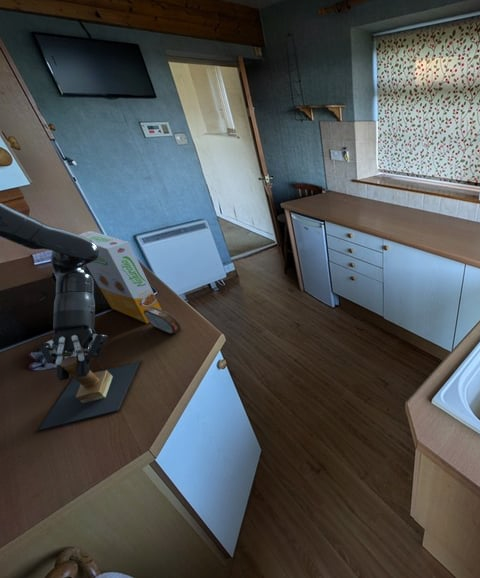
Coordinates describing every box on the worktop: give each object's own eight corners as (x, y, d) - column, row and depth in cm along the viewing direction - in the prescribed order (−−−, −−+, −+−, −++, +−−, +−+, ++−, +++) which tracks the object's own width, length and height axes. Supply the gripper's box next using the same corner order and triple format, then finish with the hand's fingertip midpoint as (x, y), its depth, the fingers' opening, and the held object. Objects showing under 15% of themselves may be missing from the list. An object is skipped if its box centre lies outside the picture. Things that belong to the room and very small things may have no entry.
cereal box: (163, 314, 113) (128, 241, 97) (146, 323, 108) (107, 248, 92) (128, 300, 120) (91, 230, 105) (111, 308, 116) (69, 236, 100)
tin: (184, 332, 104) (175, 313, 99) (175, 338, 101) (166, 319, 97) (157, 321, 109) (148, 302, 104) (148, 326, 106) (138, 307, 102)
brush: (82, 403, 78) (49, 375, 70) (91, 381, 83) (61, 352, 75) (105, 397, 80) (76, 369, 71) (112, 376, 85) (86, 347, 76)
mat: (39, 430, 72) (38, 429, 72) (74, 377, 86) (74, 376, 86) (118, 411, 77) (117, 410, 77) (139, 363, 91) (138, 362, 91)
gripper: (27, 313, 72) (24, 385, 68) (96, 305, 75) (95, 373, 72) (54, 317, 79) (52, 383, 76) (115, 309, 82) (116, 371, 79)
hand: (73, 377), depth 74 cm, fingers closed on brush, 3 cm apart
